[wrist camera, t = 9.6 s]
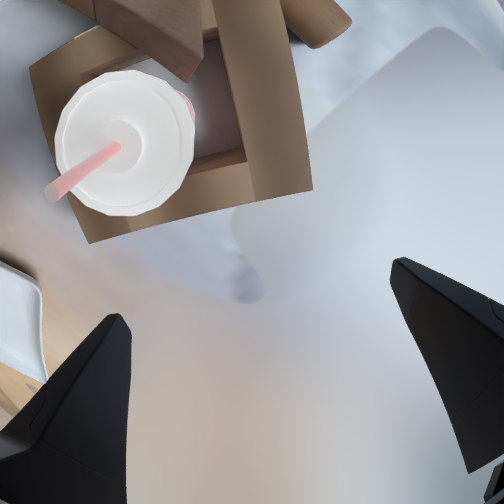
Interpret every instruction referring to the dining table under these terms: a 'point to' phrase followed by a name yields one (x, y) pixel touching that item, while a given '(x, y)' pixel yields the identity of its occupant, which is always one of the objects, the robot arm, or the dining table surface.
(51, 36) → the dining table surface
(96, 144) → the beverage cup
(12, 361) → the salad plate
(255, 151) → the holder block
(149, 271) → the dining table surface
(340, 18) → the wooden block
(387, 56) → the dining table surface
